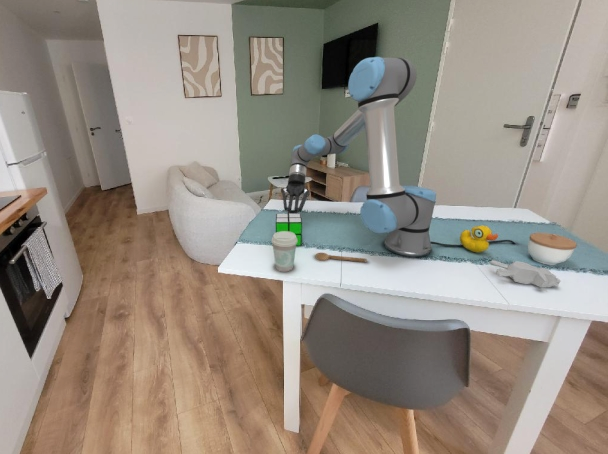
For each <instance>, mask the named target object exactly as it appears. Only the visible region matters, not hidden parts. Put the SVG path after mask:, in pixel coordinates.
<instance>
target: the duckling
mask: <svg viewBox="0 0 608 454" xmlns="http://www.w3.org/2000/svg"><path fill="white" fill-rule="evenodd" d="M459 236H460V237H459V242H460V245H463V246H464V247H463V248H465V249H467V250H469V251H470V252H472V253H482V252H485V251H487V250H488V249H489V247H490V243H488V242H489V241H496V240H497V239H498V237H499V234H498V233H495V234H492V230H491V228H489V226H486V225H478V226H473V227H471V230H469V229H465V230H463V231H461V233H460V235H459Z"/></svg>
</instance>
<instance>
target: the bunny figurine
mask: <svg viewBox="0 0 608 454" xmlns="http://www.w3.org/2000/svg"><path fill="white" fill-rule="evenodd" d="M489 264H490V265H491V266H495V267H498V268H497V269H496V274H497V275H498V276H501V277H510V278H511V279H512V280H513V282H515V283H519V284H523V285H530V284H532V285H534V286H537V287H539V288H552V287H554V286H559V285H560V283H561V280H560V279H559V277H557V276H556V274H554V273H552V272H551V271H550V270H549V269H547V268H545V267H536V266H534V265H532V264H530V263H527V262H524V261H519V260H518V261H517V260H515V261H513V262H511V264H505V263H503V262H500V261H498V260H494V259H493V260H490V261H489Z"/></svg>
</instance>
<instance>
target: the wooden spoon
mask: <svg viewBox="0 0 608 454" xmlns="http://www.w3.org/2000/svg"><path fill="white" fill-rule="evenodd" d="M315 259H316V260H317V261H323V262H324V261H328V260H330V259H331V260H339V261H350V262H359V263H360V262H361V263H366V262H368V259H367V258H364V257H352V256H341V255H331V254H327V253H325V252H317V253H316V254H315Z"/></svg>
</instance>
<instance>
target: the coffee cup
mask: <svg viewBox="0 0 608 454" xmlns="http://www.w3.org/2000/svg"><path fill="white" fill-rule="evenodd" d="M297 242H298V241H297V238H296V235H295V234H294V233H292V232H288V231H280V232H277V233H276V232H274V234H273V235H272V237H271V243H272V249H273V257H274V263H275V268H276V270H277V271H279V272H283V273H285V272H291V271H292V270H293V268H294V262H295V256H296V250H297V246H296V244H297Z"/></svg>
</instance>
